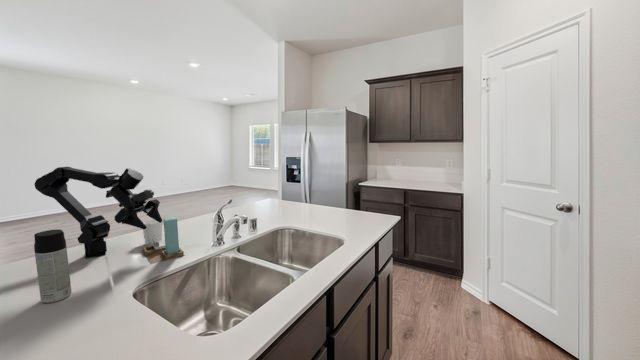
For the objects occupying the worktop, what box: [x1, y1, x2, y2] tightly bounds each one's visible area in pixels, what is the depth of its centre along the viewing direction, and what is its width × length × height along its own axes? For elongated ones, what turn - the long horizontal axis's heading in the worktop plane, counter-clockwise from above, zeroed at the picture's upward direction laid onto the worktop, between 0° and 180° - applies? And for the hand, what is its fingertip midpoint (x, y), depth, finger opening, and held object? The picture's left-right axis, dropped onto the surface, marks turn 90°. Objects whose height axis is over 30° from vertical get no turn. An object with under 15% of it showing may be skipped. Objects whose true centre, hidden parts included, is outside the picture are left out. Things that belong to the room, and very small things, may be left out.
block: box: [162, 216, 180, 255], centre depth 110 cm, size 4×4×15 cm
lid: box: [151, 238, 166, 250], centre depth 117 cm, size 7×7×3 cm
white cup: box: [142, 219, 163, 246], centre depth 127 cm, size 8×8×10 cm
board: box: [141, 244, 186, 265], centre depth 113 cm, size 12×18×2 cm, turn 41°
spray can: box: [33, 228, 72, 304], centre depth 80 cm, size 7×7×20 cm
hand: (154, 225), depth 110 cm, fingers open, 9 cm apart
